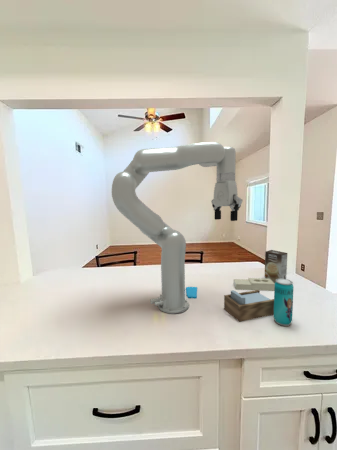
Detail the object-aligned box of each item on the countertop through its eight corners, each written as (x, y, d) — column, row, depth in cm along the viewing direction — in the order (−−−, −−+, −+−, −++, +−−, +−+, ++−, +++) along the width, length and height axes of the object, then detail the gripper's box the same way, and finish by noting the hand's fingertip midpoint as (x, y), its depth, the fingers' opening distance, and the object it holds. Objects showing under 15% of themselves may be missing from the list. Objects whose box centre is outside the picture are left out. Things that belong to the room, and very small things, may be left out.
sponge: (183, 296, 96) (196, 296, 95) (185, 286, 108) (197, 285, 107) (183, 300, 96) (196, 299, 95) (186, 289, 108) (197, 288, 107)
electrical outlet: (233, 277, 111) (270, 278, 109) (233, 284, 112) (269, 286, 109) (235, 282, 104) (275, 283, 102) (235, 290, 105) (274, 291, 102)
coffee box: (263, 280, 116) (264, 251, 115) (270, 277, 120) (271, 249, 118) (280, 285, 109) (281, 254, 107) (286, 282, 112) (288, 252, 111)
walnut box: (239, 321, 76) (239, 306, 76) (224, 308, 86) (224, 295, 85) (275, 314, 81) (276, 300, 80) (257, 302, 90) (257, 290, 90)
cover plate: (241, 308, 78) (242, 298, 77) (230, 299, 84) (230, 290, 84) (271, 302, 81) (271, 293, 81) (258, 295, 88) (258, 286, 88)
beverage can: (284, 328, 71) (285, 285, 70) (269, 320, 77) (270, 279, 75) (295, 324, 74) (297, 282, 72) (281, 316, 79) (282, 277, 77)
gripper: (205, 180, 95) (205, 219, 96) (234, 175, 79) (233, 221, 81) (218, 181, 98) (218, 218, 100) (248, 176, 83) (248, 220, 84)
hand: (225, 220), depth 90 cm, fingers open, 9 cm apart
